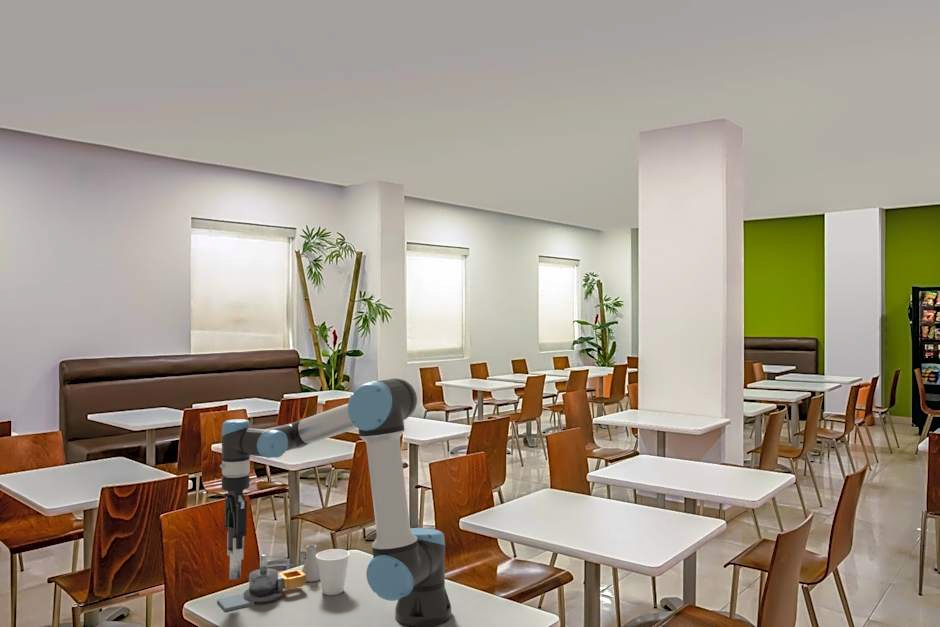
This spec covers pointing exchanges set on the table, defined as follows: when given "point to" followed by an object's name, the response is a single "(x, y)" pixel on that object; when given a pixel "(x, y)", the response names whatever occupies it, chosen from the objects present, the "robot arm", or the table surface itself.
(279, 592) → the dark grey disc
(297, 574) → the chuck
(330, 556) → the cup
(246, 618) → the table surface
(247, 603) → the key mat
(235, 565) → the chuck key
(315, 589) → the table surface
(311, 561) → the flask
